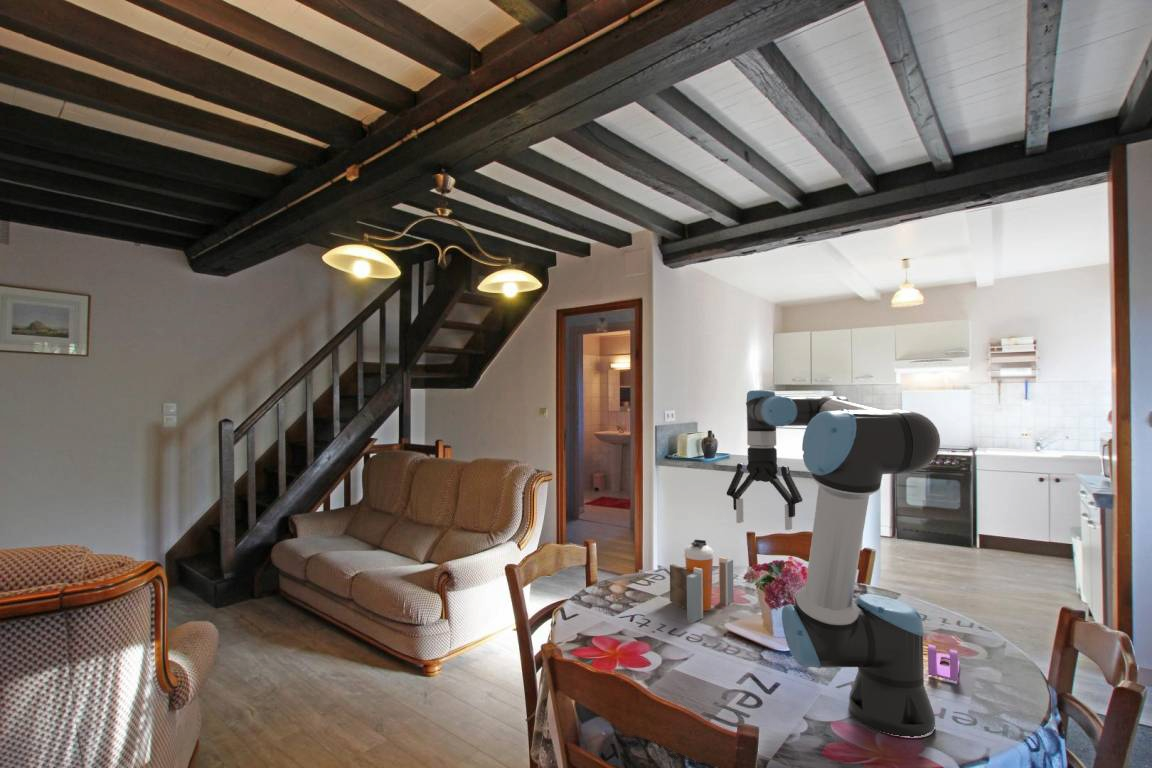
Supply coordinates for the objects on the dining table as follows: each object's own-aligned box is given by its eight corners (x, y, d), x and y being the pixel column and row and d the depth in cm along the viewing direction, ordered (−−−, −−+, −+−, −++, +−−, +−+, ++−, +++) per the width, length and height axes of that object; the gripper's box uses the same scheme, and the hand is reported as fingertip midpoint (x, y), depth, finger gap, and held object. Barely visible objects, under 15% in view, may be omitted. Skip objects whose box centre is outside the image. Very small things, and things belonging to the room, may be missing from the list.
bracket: (957, 685, 123) (957, 654, 123) (928, 678, 126) (927, 647, 126) (960, 663, 133) (959, 634, 133) (932, 656, 136) (932, 628, 137)
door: (706, 613, 162) (705, 575, 162) (700, 615, 161) (699, 576, 161) (675, 599, 173) (675, 563, 174) (670, 601, 172) (669, 564, 172)
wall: (693, 623, 156) (693, 573, 157) (686, 620, 158) (685, 571, 159) (734, 600, 174) (733, 555, 174) (726, 598, 176) (726, 554, 176)
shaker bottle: (683, 610, 166) (682, 544, 167) (686, 599, 175) (685, 537, 175) (713, 613, 164) (712, 546, 164) (714, 602, 172) (714, 539, 173)
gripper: (813, 448, 142) (816, 530, 141) (726, 444, 159) (727, 517, 158) (803, 449, 136) (805, 534, 135) (713, 445, 153) (714, 521, 152)
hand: (763, 525), depth 147 cm, fingers open, 13 cm apart
